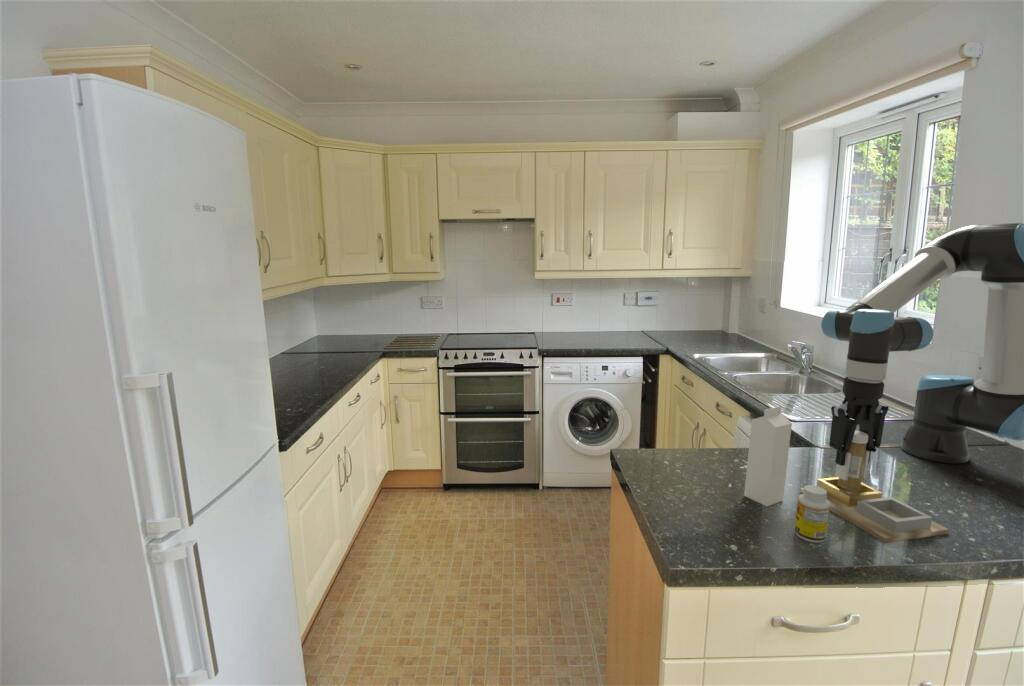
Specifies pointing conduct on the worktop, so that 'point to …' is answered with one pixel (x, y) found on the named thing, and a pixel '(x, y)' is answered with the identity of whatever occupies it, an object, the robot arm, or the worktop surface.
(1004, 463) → the worktop surface
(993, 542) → the worktop surface
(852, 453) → the sprinkles bottle
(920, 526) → the grey socket collar
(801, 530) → the supplement bottle
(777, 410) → the milk
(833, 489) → the brass socket collar
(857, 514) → the birch socket board
